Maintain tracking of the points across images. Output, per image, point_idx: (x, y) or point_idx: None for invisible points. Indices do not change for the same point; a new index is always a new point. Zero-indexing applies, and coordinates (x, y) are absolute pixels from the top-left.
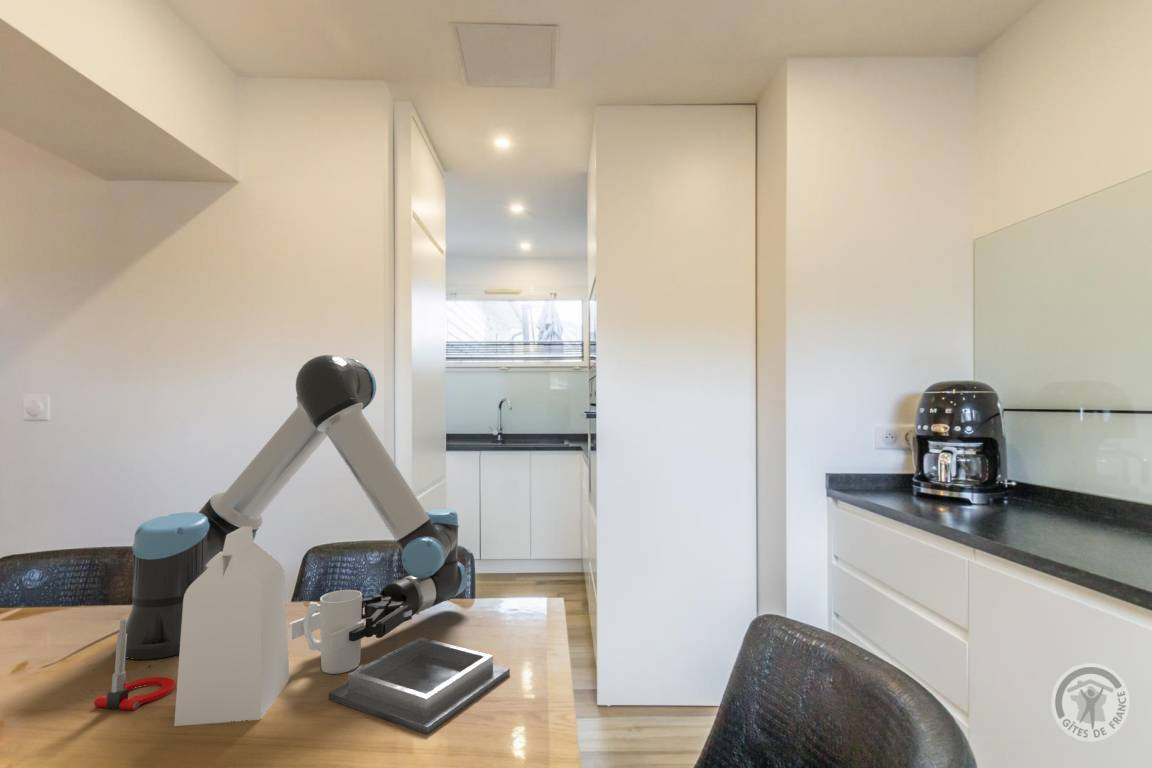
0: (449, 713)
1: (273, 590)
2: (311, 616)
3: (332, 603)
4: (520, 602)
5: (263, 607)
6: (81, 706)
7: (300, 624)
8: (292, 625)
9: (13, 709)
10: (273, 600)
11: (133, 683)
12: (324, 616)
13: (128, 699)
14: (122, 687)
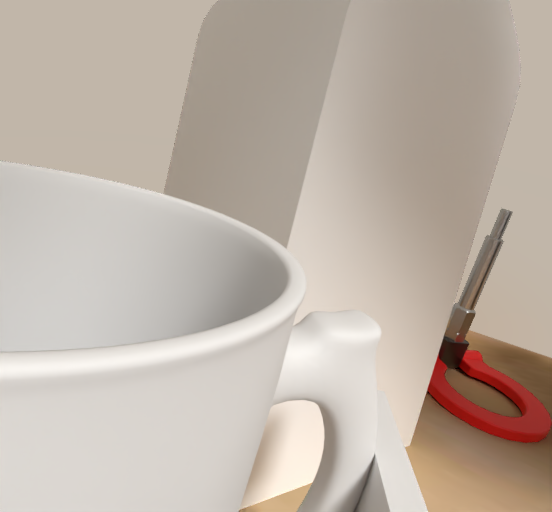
0: None
1: (247, 49)
2: (390, 507)
3: (55, 174)
4: None
5: (197, 78)
6: (490, 365)
7: None
8: None
9: (544, 356)
10: (235, 88)
11: (528, 401)
12: (123, 298)
13: None
14: (446, 330)
